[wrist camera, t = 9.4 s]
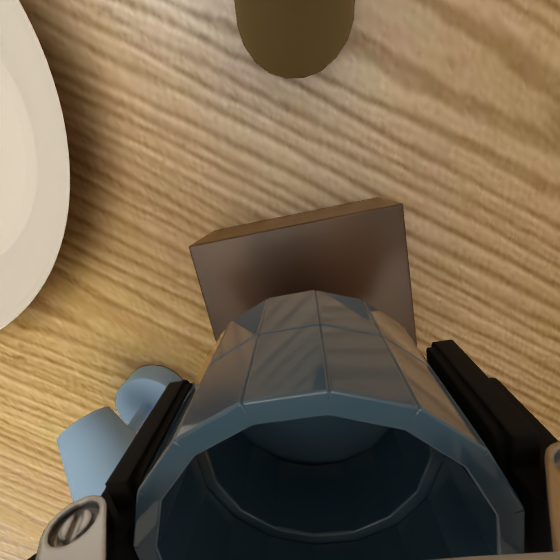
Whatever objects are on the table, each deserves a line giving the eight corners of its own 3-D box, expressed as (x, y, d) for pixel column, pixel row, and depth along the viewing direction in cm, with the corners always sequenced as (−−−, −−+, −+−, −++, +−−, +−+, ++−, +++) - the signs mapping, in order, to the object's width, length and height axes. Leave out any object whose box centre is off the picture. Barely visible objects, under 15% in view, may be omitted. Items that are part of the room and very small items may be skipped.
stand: (377, 197, 19) (403, 203, 14) (396, 348, 22) (422, 395, 17) (214, 230, 20) (188, 246, 16) (250, 370, 23) (238, 419, 18)
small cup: (409, 267, 10) (528, 361, 5) (428, 457, 12) (526, 667, 7) (182, 307, 11) (75, 426, 6) (235, 479, 13) (193, 682, 8)
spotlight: (218, 404, 24) (143, 344, 23) (165, 551, 15) (33, 461, 14) (178, 442, 25) (105, 387, 24) (105, 600, 16) (-21, 522, 15)
